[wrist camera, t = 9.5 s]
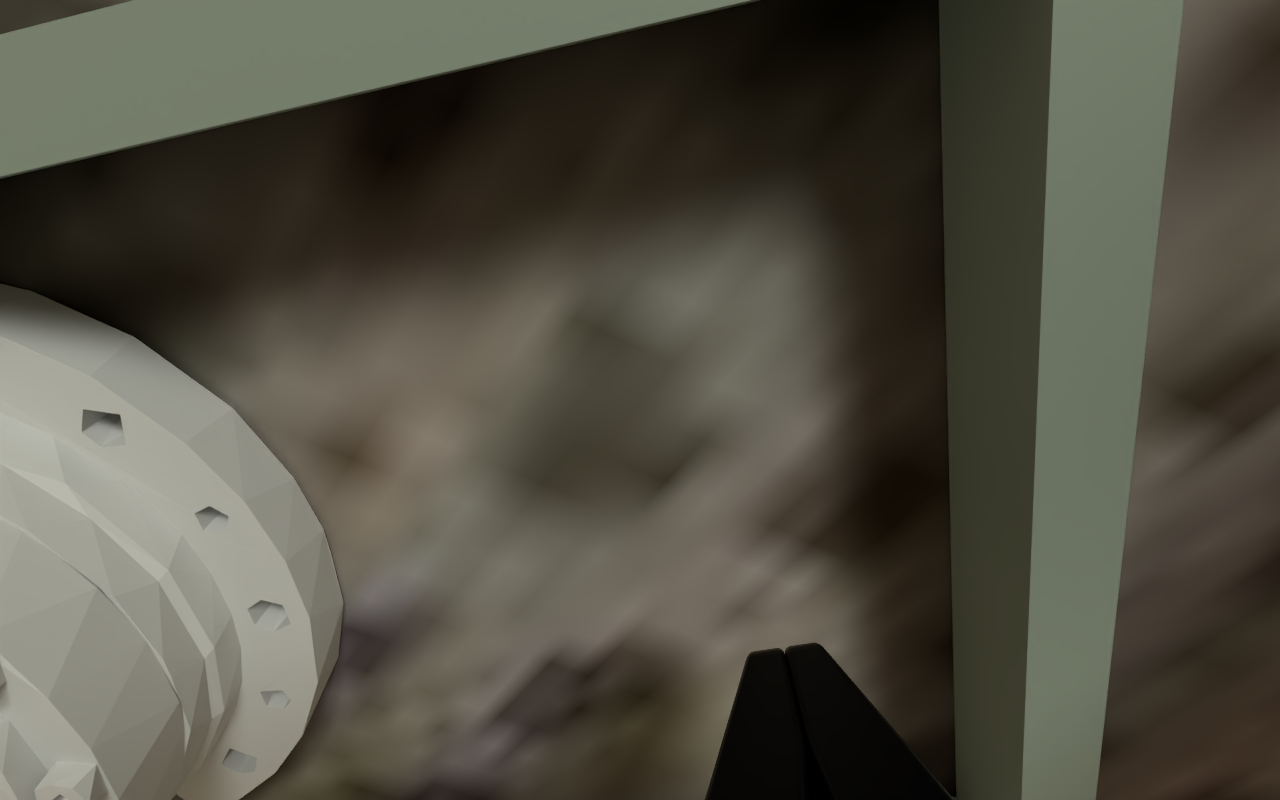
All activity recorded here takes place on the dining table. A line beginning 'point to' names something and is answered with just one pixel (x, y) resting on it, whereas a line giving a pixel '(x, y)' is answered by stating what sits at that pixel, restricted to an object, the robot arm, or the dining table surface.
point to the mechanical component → (146, 575)
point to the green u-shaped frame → (973, 250)
